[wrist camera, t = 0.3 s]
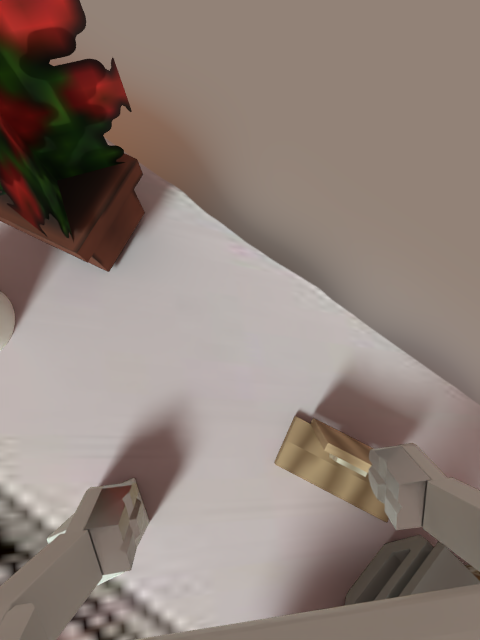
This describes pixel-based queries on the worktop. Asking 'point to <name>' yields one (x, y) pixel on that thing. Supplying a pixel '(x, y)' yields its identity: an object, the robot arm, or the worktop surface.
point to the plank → (342, 445)
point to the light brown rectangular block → (326, 469)
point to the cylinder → (6, 320)
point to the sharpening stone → (409, 571)
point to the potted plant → (62, 136)
